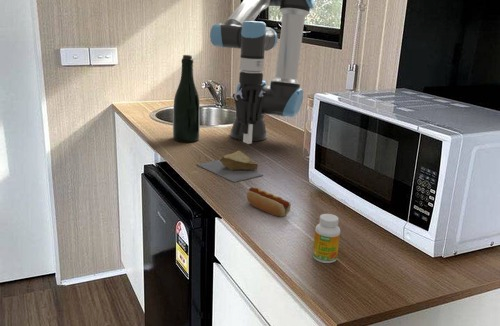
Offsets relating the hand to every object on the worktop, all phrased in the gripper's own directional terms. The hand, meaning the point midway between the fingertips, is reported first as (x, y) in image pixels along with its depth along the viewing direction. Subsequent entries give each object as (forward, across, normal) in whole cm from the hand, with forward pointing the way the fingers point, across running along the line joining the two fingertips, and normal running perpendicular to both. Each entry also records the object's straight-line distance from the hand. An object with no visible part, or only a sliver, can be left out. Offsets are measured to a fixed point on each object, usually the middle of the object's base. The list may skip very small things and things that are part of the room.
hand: (247, 142), depth 163 cm
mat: (+9, -7, 0) cm, 11 cm away
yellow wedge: (+6, +1, 0) cm, 6 cm away
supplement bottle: (+9, -26, -58) cm, 64 cm away
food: (+9, -19, -31) cm, 37 cm away
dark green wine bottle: (+9, +2, +39) cm, 40 cm away
